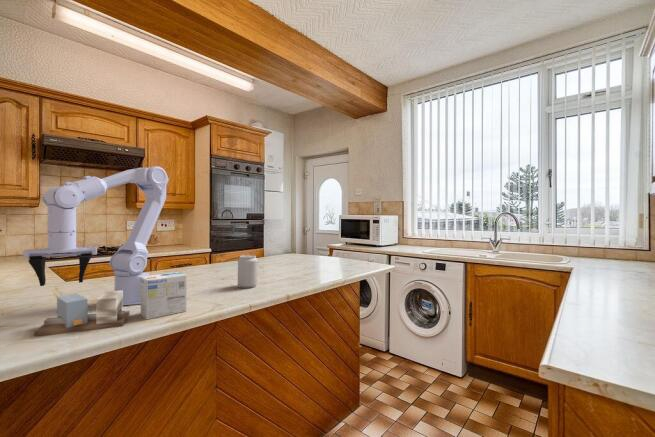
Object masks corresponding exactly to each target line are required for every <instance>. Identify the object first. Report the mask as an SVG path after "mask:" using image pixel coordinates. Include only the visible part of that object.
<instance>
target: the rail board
mask: <svg viewBox="0 0 655 437" xmlns="http://www.w3.org/2000/svg"><path fill="white" fill-rule="evenodd" d="M95 302H96V307H95V308H96V310H95V311H96V312H95V313H87V323H86V324H82V325H78V326H73V327H69V328H66V327H65V320H64V319H63V318H62V317H57V316H56V317H48V318H46V319H45V320H44V321H43V325H41V326H40V327H39V328H37V329H36V330H35V331H34V334H33V335H34V337H37V336H46V335H53V334H54V335H55V334H63V333H71V332H81V331H89V330H98V329H107V328H116V327H123V326H124V325H125V322H126V321H127V319H128V318H129V317H130V315H131V314H130V311H129V310H128V311H127V310H126V311H125V310H124V309H123V308H124V305H123V290H122V291H115V290H110V291H109V290H108V291H104V292H103V293H102V294H101V295H100V296H99V297H98V298H96V301H95Z"/></svg>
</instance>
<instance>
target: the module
mask: <svg viewBox="0 0 655 437" xmlns="http://www.w3.org/2000/svg"><path fill="white" fill-rule="evenodd" d="M87 314H88V298H86V297H84V296H83V295H81V294H79V293H72V294H65V295H61V296H57V297H56V317H62V318H63V319H64V320H65V327H66V328H69V327H73V326H78V325H82V324H86V323H87Z"/></svg>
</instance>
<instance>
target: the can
mask: <svg viewBox="0 0 655 437" xmlns="http://www.w3.org/2000/svg"><path fill="white" fill-rule="evenodd" d="M258 262H259V259H258V258H257V256H256V255H255V254H243V255H240V256H239V259H237V286H238V287H239V288H241V289H251V288H254V287H256V286H257V285H258V280H259V279H258V278H259V275H258V271H259V268H258V266H259V265H258V264H259V263H258Z"/></svg>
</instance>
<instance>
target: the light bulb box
mask: <svg viewBox="0 0 655 437" xmlns="http://www.w3.org/2000/svg"><path fill="white" fill-rule="evenodd" d="M149 275H150V274H149ZM140 299H141V304H140V315H141V316H142V317H143V318H144V319H145V320H151V319H155V318H160V317H165V316H170V315H173V314H179V313H183V312H187V311H188V310H187V308H188V307H187V274H186V273H183V272H181V271H175V272H168V273H160V274H152V275H150V276H141V277H140Z"/></svg>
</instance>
